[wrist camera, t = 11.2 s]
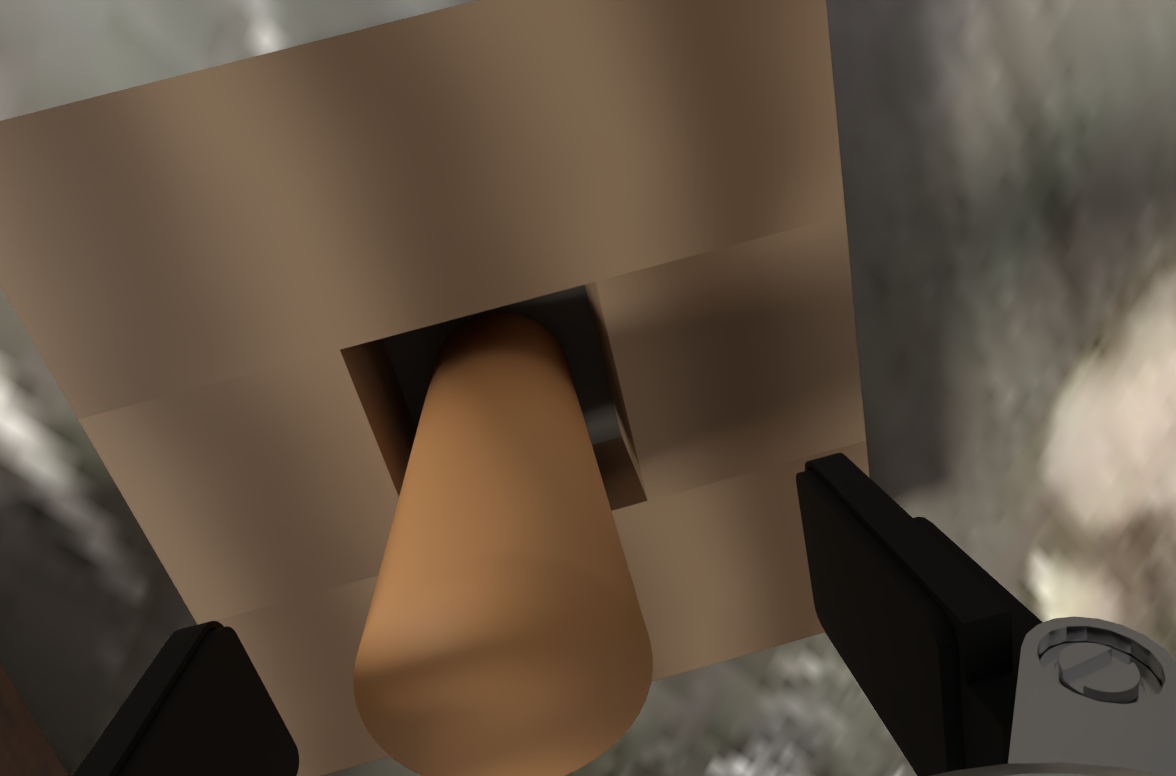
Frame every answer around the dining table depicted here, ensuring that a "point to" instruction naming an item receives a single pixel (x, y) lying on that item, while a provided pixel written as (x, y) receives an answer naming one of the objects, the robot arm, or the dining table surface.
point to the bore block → (453, 304)
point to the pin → (502, 576)
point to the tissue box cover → (23, 738)
